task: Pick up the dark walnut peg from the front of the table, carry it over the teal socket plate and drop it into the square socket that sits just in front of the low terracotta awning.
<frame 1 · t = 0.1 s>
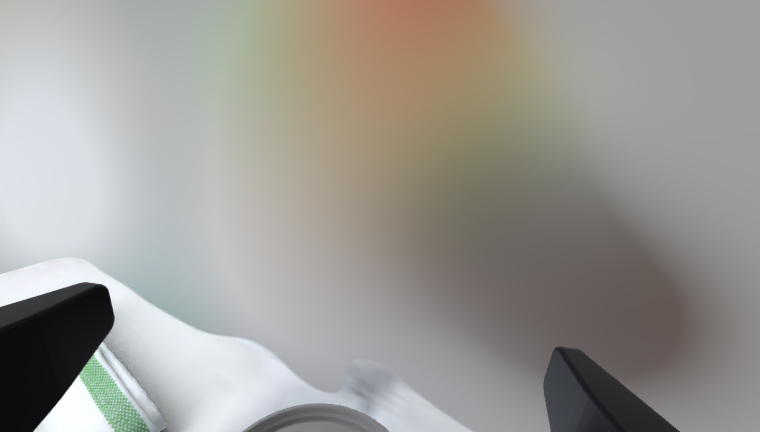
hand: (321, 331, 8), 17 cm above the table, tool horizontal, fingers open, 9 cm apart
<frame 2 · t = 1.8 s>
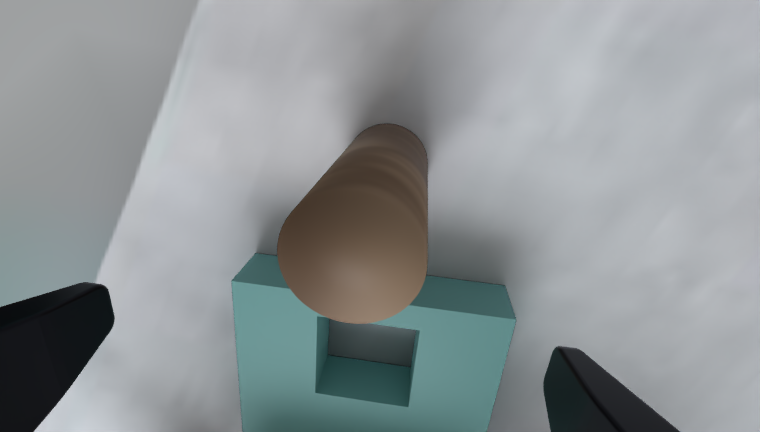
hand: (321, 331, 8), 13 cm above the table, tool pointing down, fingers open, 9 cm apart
socket plate: (367, 378, 25), on the table
walnut peg: (387, 164, 20), on the table
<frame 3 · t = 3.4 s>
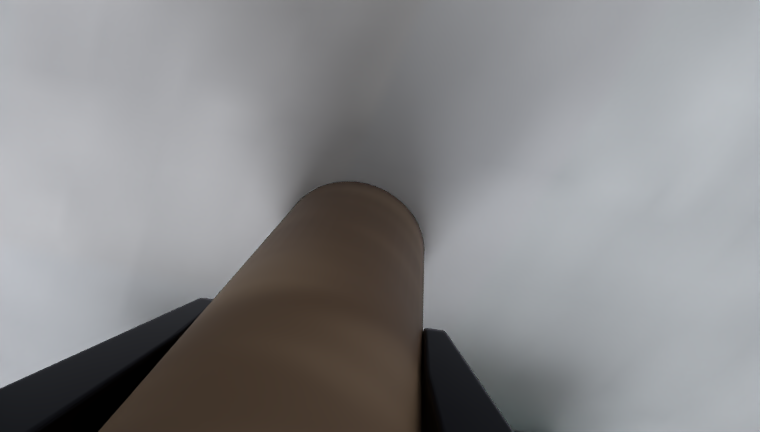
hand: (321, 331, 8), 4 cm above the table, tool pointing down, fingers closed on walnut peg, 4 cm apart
walnut peg: (352, 249, 11), on the table, touching gripper
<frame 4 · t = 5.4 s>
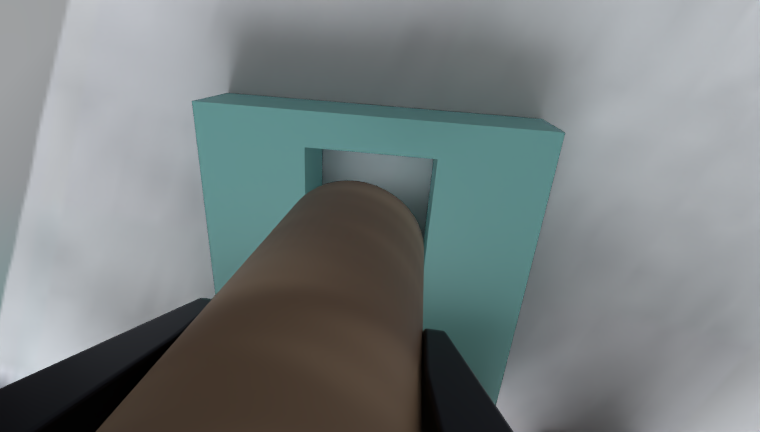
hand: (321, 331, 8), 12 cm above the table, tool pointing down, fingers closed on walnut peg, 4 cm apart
socket plate: (370, 262, 21), on the table
walnut peg: (352, 248, 11), point 8 cm above the table, touching gripper
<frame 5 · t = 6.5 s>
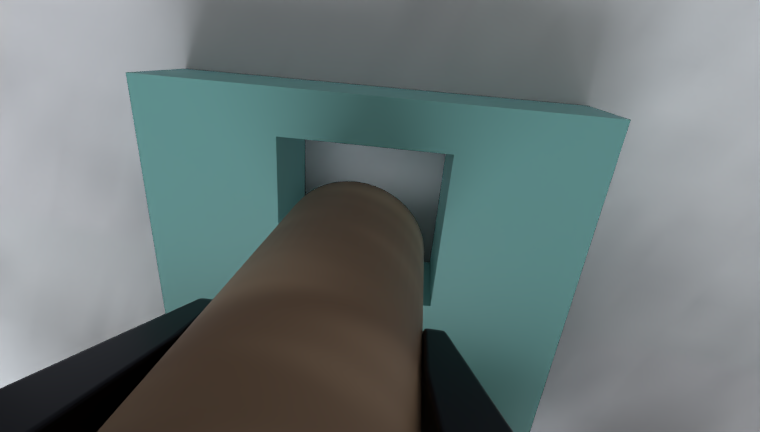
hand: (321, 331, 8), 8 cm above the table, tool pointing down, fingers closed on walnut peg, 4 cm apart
socket plate: (364, 283, 17), on the table
walnut peg: (352, 249, 11), point 4 cm above the table, touching gripper
when the fingers open (5 cm above the table, at t = 7.4 s): walnut peg drops 2 cm, resting in socket plate.
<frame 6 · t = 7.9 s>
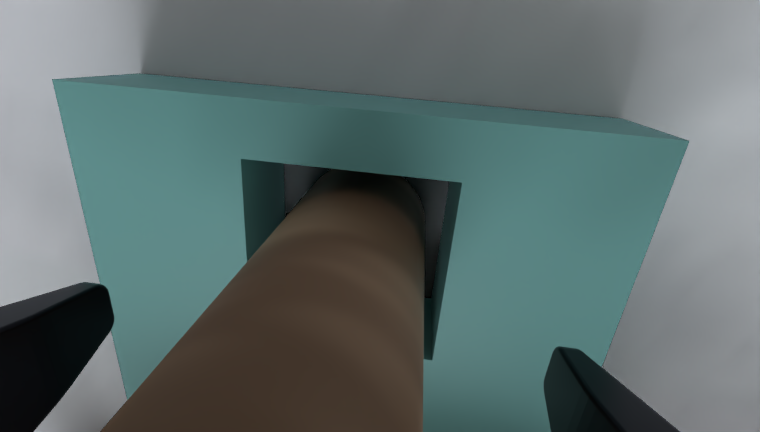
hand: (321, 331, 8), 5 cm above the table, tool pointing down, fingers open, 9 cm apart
socket plate: (355, 321, 14), on the table
walnut peg: (363, 221, 13), resting in socket plate
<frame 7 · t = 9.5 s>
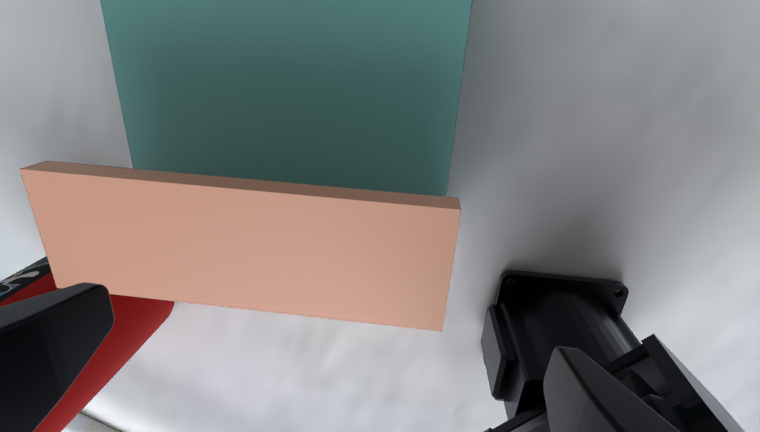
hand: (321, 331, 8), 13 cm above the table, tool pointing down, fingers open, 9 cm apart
beverage can: (131, 274, 24), on the table
socket plate: (301, 35, 18), on the table
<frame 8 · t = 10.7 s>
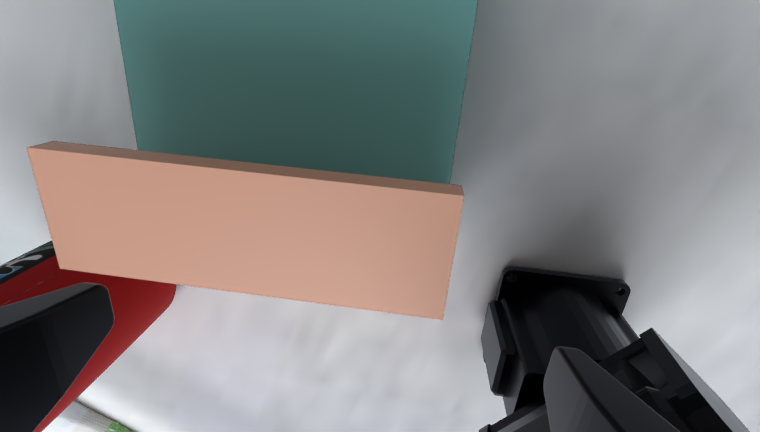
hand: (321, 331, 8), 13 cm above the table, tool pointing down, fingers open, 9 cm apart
beverage can: (133, 263, 24), on the table
socket plate: (309, 26, 18), on the table
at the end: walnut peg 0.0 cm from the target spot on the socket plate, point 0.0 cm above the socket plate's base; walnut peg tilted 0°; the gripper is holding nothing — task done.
